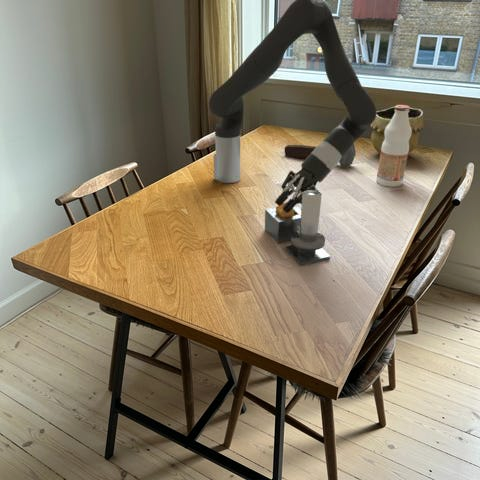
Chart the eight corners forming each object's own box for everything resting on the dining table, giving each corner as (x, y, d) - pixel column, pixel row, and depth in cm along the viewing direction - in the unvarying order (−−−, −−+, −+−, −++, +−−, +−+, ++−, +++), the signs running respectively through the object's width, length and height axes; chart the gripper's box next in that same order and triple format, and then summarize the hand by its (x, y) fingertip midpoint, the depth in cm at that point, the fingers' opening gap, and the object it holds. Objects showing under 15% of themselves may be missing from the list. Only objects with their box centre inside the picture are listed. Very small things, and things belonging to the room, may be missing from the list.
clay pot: (388, 168, 178) (397, 118, 168) (356, 152, 194) (362, 106, 185) (427, 161, 185) (438, 113, 175) (393, 146, 202) (401, 102, 192)
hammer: (284, 165, 191) (351, 169, 176) (282, 139, 186) (351, 141, 171) (289, 161, 195) (355, 165, 179) (287, 136, 190) (355, 138, 175)
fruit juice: (380, 187, 160) (393, 109, 146) (372, 177, 169) (384, 103, 155) (405, 187, 161) (421, 109, 147) (397, 177, 169) (411, 103, 155)
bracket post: (264, 230, 132) (266, 173, 123) (292, 224, 135) (296, 169, 126) (299, 266, 115) (304, 204, 106) (330, 258, 118) (338, 197, 109)
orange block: (280, 229, 131) (275, 207, 126) (292, 223, 131) (287, 201, 127) (285, 234, 128) (280, 211, 123) (297, 228, 129) (293, 206, 124)
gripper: (301, 146, 126) (262, 191, 128) (328, 161, 115) (284, 211, 117) (315, 161, 131) (277, 204, 133) (342, 177, 119) (300, 225, 121)
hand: (281, 207), depth 125 cm, fingers open, 4 cm apart
